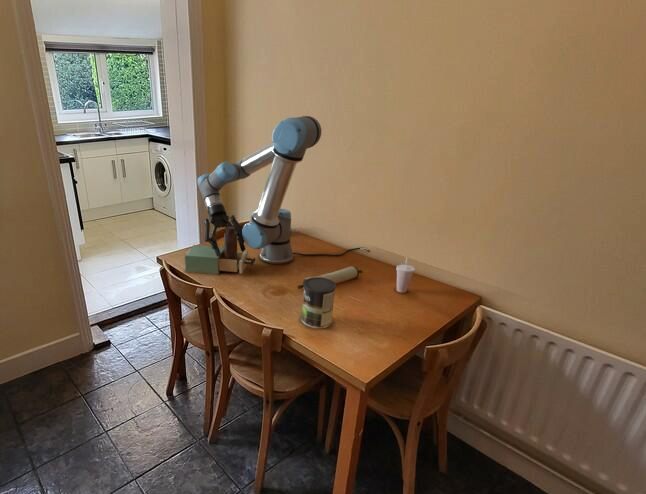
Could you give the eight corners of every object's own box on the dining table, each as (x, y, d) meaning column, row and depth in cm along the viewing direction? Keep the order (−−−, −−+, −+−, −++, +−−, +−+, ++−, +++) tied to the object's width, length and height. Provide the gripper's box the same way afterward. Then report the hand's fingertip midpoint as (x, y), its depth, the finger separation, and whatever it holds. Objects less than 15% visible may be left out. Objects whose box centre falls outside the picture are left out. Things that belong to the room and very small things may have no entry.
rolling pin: (301, 296, 156) (302, 284, 153) (293, 290, 160) (294, 278, 158) (365, 278, 169) (367, 267, 167) (356, 273, 173) (357, 262, 171)
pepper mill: (238, 263, 179) (238, 226, 172) (235, 268, 175) (235, 230, 167) (226, 262, 180) (225, 225, 173) (223, 266, 176) (222, 229, 168)
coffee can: (305, 329, 135) (307, 291, 129) (298, 313, 144) (300, 277, 138) (335, 328, 135) (339, 290, 129) (327, 312, 145) (330, 276, 139)
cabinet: (225, 262, 185) (225, 247, 182) (218, 274, 174) (217, 257, 170) (194, 260, 188) (194, 244, 184) (185, 271, 177) (184, 255, 173)
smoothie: (410, 288, 161) (416, 255, 155) (410, 295, 155) (417, 261, 149) (392, 285, 163) (398, 253, 157) (392, 292, 157) (398, 259, 151)
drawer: (256, 263, 181) (256, 251, 179) (251, 274, 171) (251, 262, 168) (218, 260, 185) (217, 248, 182) (211, 271, 174) (210, 258, 172)
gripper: (236, 208, 187) (252, 251, 181) (188, 215, 176) (203, 261, 171) (242, 200, 180) (258, 244, 175) (192, 206, 170) (208, 253, 164)
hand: (231, 252), depth 173 cm, fingers open, 11 cm apart
